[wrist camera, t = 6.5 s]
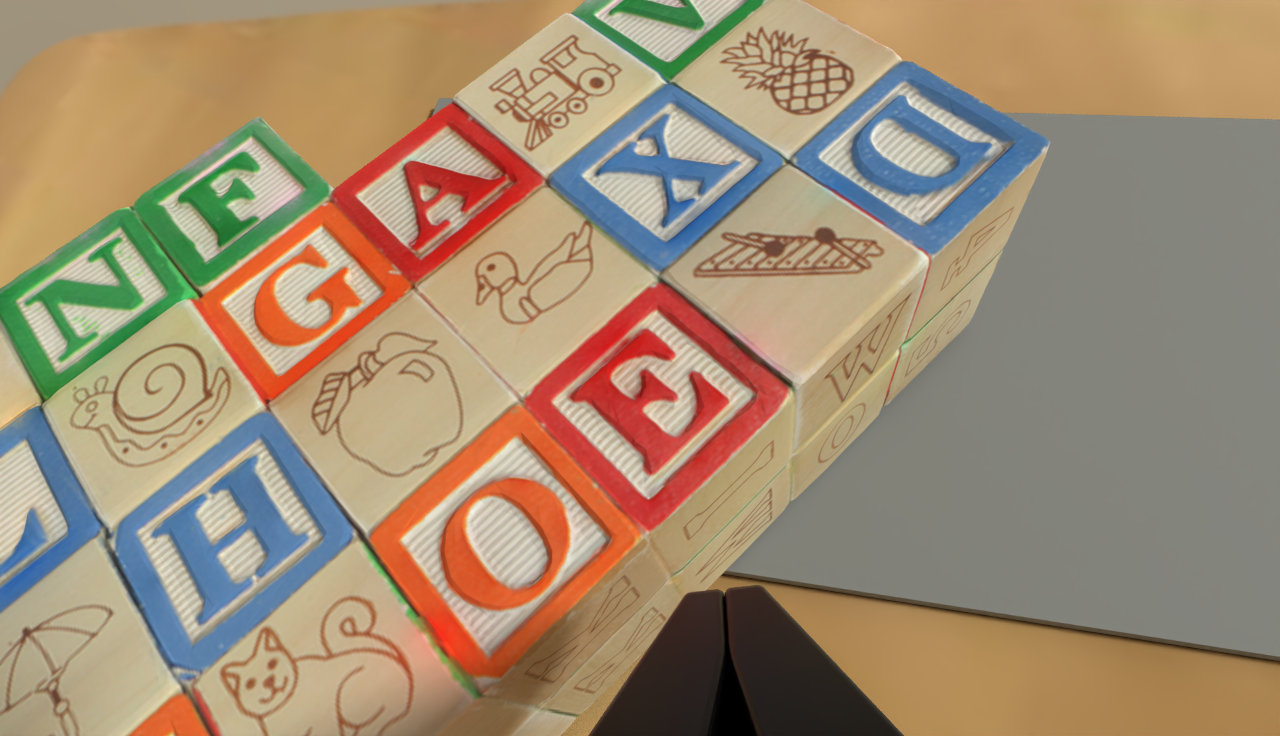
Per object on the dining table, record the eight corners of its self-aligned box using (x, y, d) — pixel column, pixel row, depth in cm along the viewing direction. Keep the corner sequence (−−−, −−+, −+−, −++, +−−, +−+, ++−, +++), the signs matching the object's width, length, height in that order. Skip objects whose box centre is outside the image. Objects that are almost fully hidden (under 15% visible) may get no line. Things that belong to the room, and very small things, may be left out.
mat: (1465, 690, 14) (1483, 688, 13) (291, 506, 19) (282, 501, 19) (1330, 132, 19) (1340, 121, 19) (443, 107, 24) (438, 98, 24)
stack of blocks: (978, 328, 18) (628, 82, 23) (1071, 139, 12) (582, -129, 18) (197, 1105, 14) (-17, 591, 19) (-196, 1348, 8) (-346, 523, 13)
